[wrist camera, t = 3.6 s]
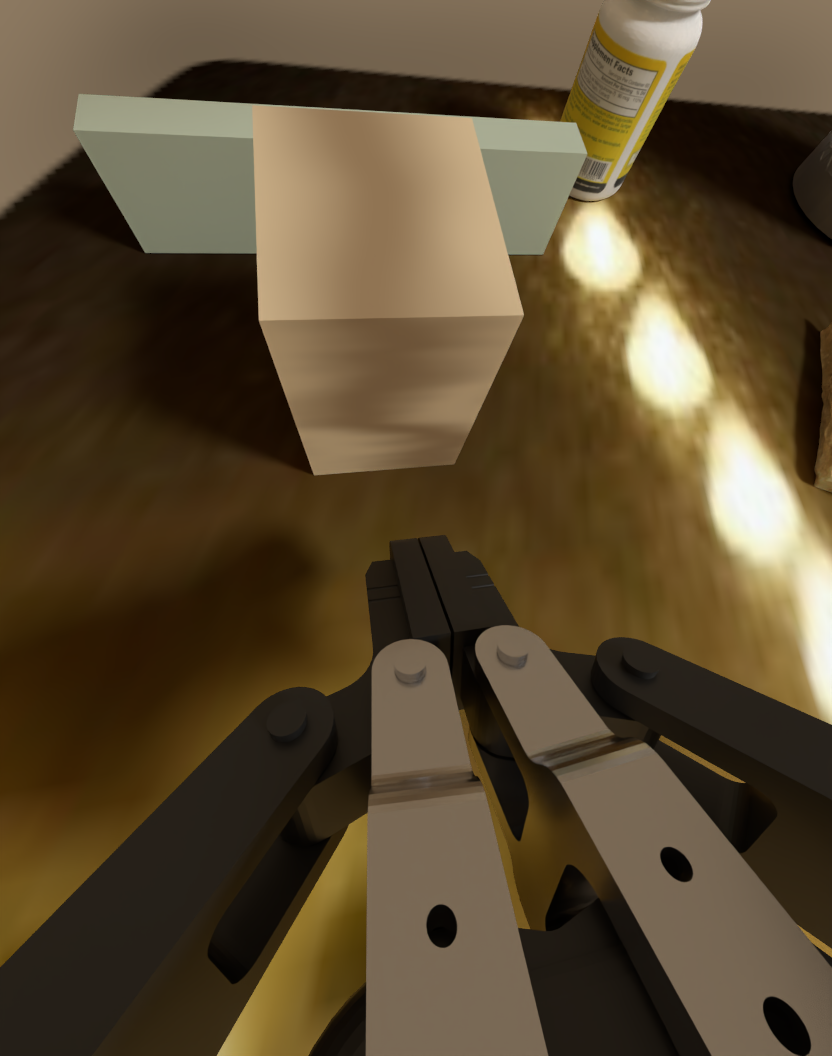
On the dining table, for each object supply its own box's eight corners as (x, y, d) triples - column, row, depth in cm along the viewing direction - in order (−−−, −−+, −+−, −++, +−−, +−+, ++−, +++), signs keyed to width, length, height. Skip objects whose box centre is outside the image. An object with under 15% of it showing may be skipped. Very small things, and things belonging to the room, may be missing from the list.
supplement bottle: (596, 145, 24) (708, -104, 16) (632, 197, 23) (772, -41, 15) (530, 154, 23) (615, -106, 15) (565, 209, 22) (676, -38, 14)
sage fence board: (534, 227, 21) (575, 122, 17) (542, 254, 21) (587, 153, 16) (147, 221, 18) (78, 93, 14) (145, 252, 18) (73, 129, 13)
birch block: (430, 334, 18) (471, 118, 11) (454, 464, 17) (523, 315, 9) (304, 337, 18) (252, 105, 10) (314, 475, 16) (258, 321, 8)
